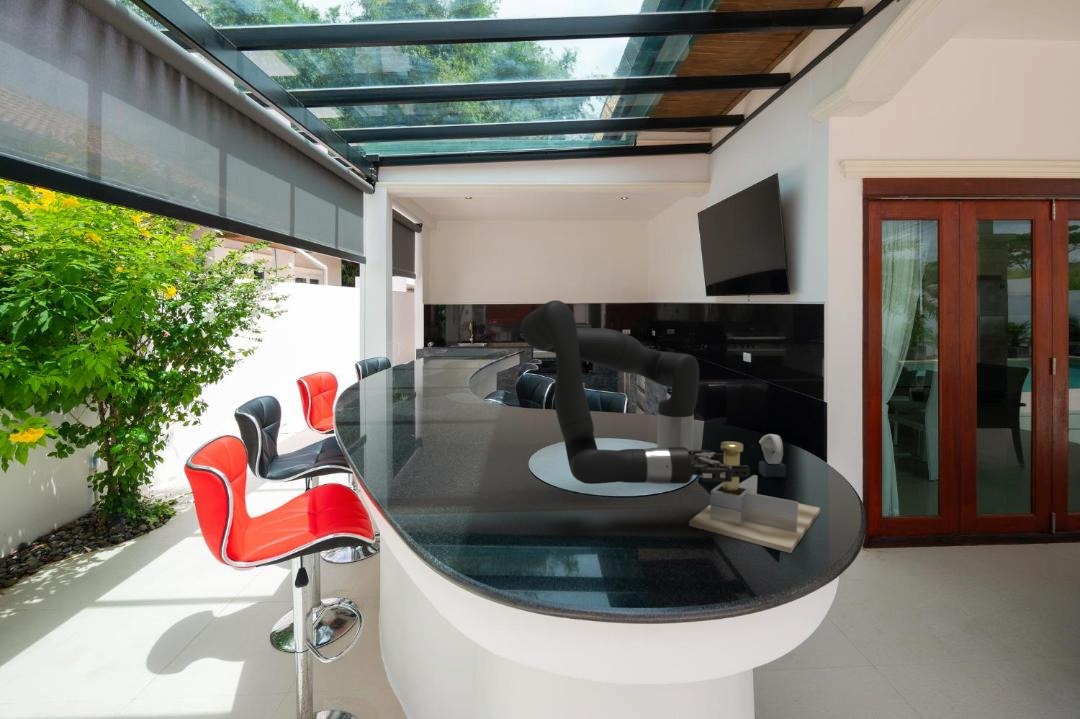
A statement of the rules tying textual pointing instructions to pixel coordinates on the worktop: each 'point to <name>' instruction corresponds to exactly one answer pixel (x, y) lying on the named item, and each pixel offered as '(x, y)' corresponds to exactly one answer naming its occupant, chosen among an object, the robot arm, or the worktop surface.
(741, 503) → the hinge
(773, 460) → the watch
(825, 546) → the worktop surface
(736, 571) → the worktop surface
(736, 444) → the hinge pin
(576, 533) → the worktop surface
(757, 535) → the board
